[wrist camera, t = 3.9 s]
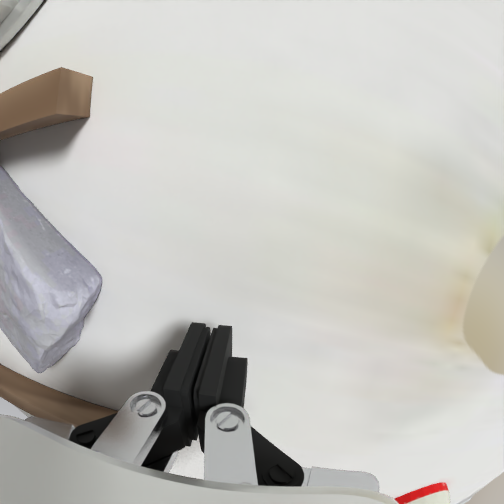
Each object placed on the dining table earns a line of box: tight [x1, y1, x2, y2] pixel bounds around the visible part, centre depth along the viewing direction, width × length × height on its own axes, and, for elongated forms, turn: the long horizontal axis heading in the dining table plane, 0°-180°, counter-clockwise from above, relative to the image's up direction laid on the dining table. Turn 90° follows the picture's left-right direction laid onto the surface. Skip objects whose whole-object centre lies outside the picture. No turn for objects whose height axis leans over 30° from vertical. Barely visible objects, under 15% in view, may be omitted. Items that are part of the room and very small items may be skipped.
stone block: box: [0, 165, 102, 373], centre depth 12 cm, size 12×5×10 cm
